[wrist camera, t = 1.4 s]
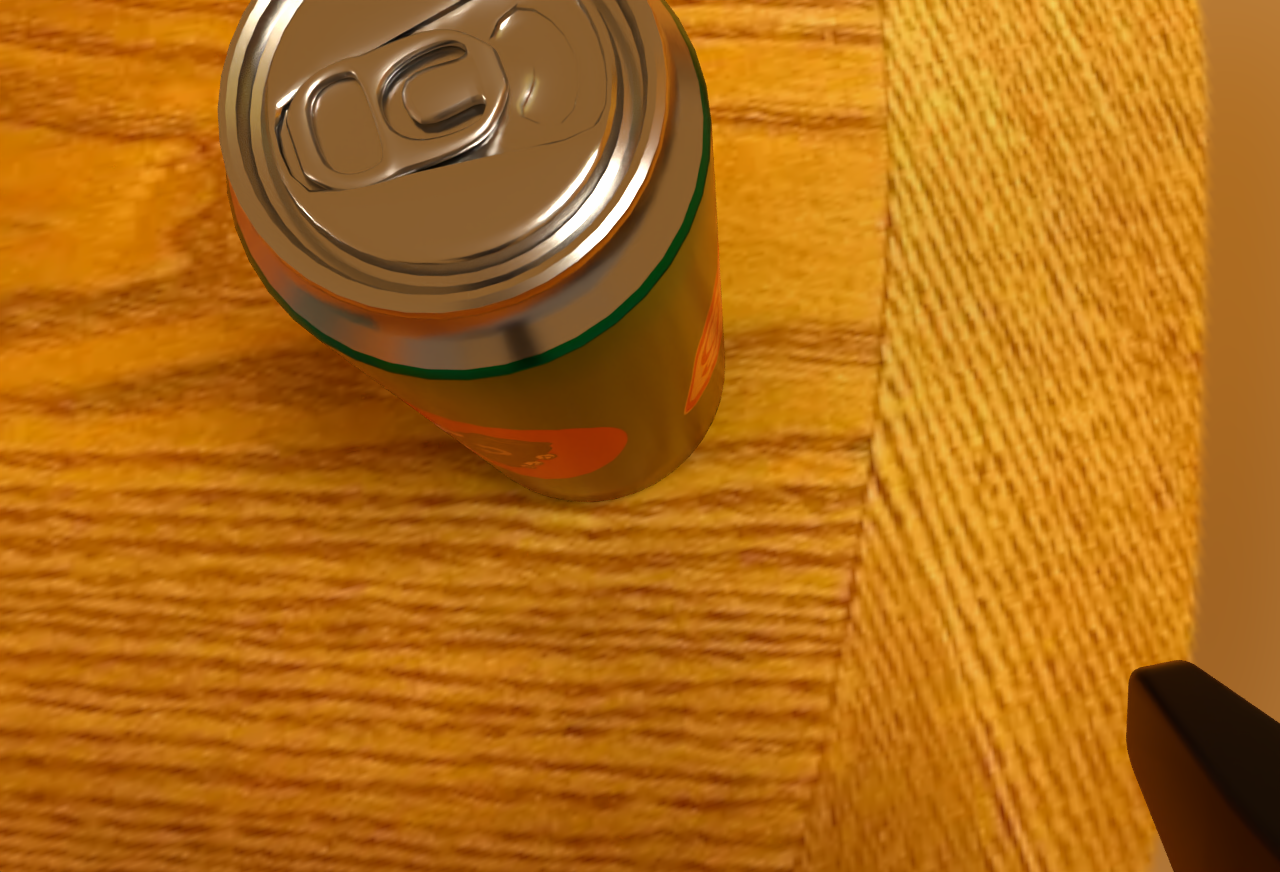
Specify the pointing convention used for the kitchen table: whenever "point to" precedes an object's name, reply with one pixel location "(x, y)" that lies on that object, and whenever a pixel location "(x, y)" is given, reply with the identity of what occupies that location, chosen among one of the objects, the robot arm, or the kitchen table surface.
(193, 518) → the kitchen table surface
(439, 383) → the soda can
